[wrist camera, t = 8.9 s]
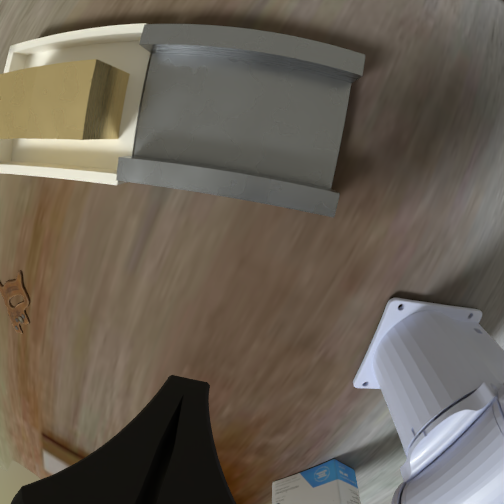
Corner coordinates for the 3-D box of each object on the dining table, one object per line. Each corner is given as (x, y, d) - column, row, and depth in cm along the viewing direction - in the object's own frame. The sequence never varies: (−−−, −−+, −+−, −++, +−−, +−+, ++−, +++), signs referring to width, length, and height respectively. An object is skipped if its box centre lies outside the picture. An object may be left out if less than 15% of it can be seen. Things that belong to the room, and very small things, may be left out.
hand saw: (114, 452, 28) (113, 456, 27) (85, 444, 28) (83, 448, 28) (26, 268, 20) (21, 271, 19) (-3, 270, 20) (-8, 273, 20)
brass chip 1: (76, 75, 14) (37, 66, 11) (66, 136, 16) (26, 138, 12) (33, 80, 14) (-5, 75, 10) (25, 136, 16) (-14, 139, 12)
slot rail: (349, 68, 15) (365, 54, 12) (322, 205, 17) (334, 217, 14) (162, 40, 14) (144, 24, 11) (138, 174, 17) (116, 180, 14)
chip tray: (158, 35, 14) (146, 23, 12) (133, 180, 17) (117, 185, 15) (28, 50, 14) (10, 46, 12) (11, 168, 17) (-8, 172, 15)
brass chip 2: (129, 73, 14) (96, 59, 11) (118, 139, 16) (82, 139, 12) (76, 76, 14) (37, 66, 11) (66, 136, 16) (26, 138, 12)
